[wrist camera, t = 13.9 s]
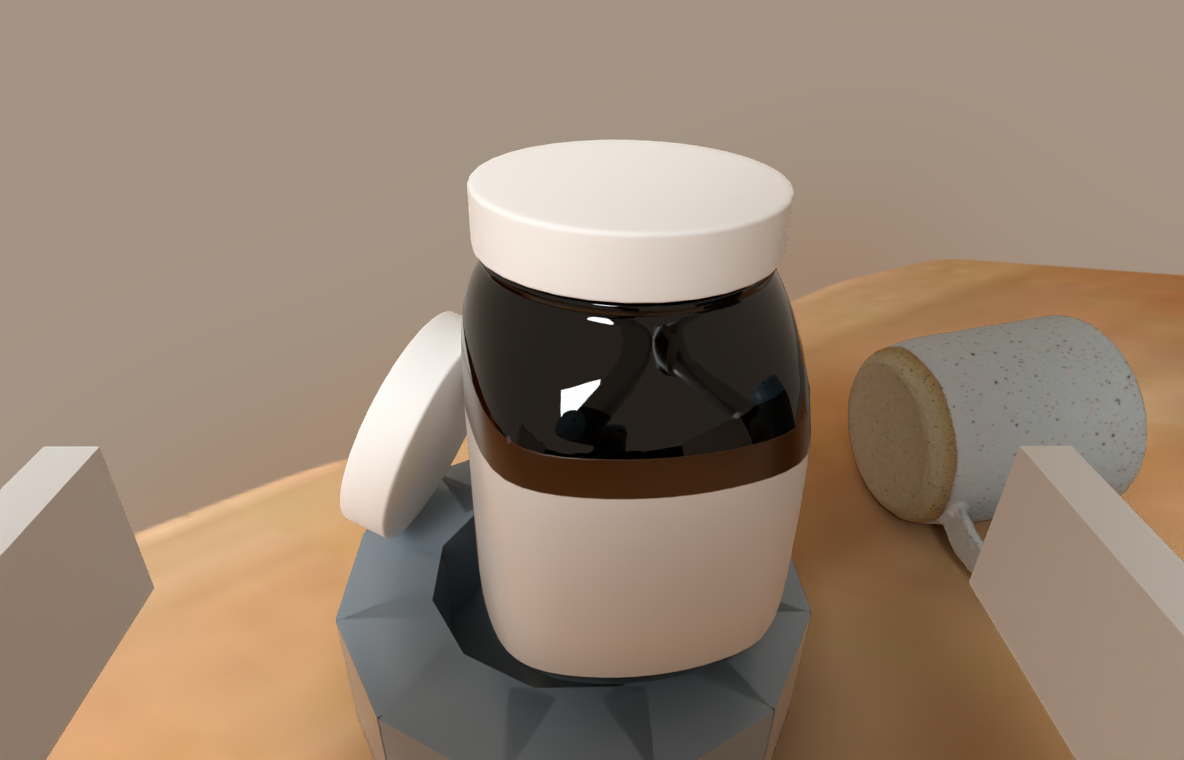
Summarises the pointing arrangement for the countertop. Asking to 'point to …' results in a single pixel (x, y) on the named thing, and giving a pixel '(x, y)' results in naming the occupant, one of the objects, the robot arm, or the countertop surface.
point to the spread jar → (610, 408)
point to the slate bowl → (517, 694)
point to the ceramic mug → (989, 417)
